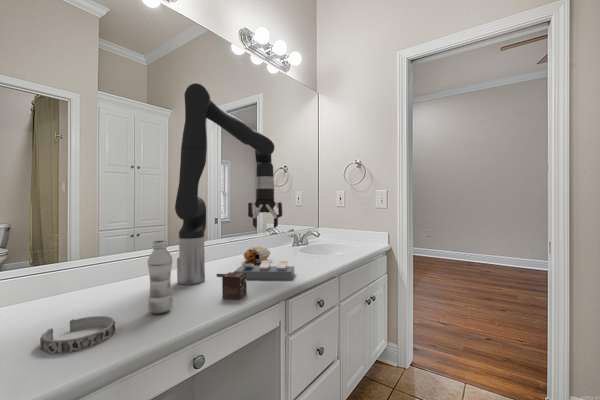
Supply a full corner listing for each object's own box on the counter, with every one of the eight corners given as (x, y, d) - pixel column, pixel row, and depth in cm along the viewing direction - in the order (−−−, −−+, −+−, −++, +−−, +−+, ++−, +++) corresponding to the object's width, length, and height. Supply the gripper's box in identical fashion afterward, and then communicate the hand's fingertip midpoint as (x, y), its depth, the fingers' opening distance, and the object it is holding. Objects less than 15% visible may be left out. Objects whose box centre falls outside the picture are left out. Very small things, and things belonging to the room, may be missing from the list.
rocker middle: (259, 271, 115) (259, 267, 115) (262, 264, 121) (262, 260, 120) (268, 271, 115) (267, 267, 114) (270, 264, 121) (270, 260, 120)
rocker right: (276, 271, 114) (276, 267, 114) (278, 264, 120) (278, 260, 120) (285, 271, 114) (285, 267, 114) (287, 264, 120) (287, 260, 119)
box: (239, 300, 90) (239, 276, 90) (221, 299, 92) (221, 276, 92) (247, 293, 96) (246, 272, 96) (230, 293, 98) (229, 271, 98)
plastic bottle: (166, 306, 86) (165, 239, 86) (177, 311, 82) (176, 241, 82) (143, 312, 81) (142, 241, 81) (154, 318, 77) (153, 243, 77)
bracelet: (35, 363, 57) (35, 348, 57) (44, 337, 68) (44, 324, 68) (117, 342, 65) (117, 329, 65) (113, 322, 76) (113, 310, 76)
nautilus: (253, 270, 130) (227, 269, 137) (277, 258, 149) (253, 257, 156) (251, 253, 130) (225, 252, 137) (276, 243, 149) (252, 243, 156)
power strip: (212, 279, 115) (212, 271, 115) (220, 273, 124) (220, 265, 124) (291, 280, 112) (291, 271, 112) (294, 274, 121) (294, 266, 121)
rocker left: (241, 267, 115) (241, 263, 116) (245, 268, 121) (246, 263, 121) (250, 267, 115) (250, 263, 115) (254, 268, 121) (254, 263, 121)
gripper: (245, 187, 116) (246, 228, 116) (280, 187, 115) (281, 228, 115) (250, 188, 124) (250, 226, 124) (283, 188, 122) (283, 226, 122)
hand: (265, 227), depth 119 cm, fingers open, 7 cm apart
